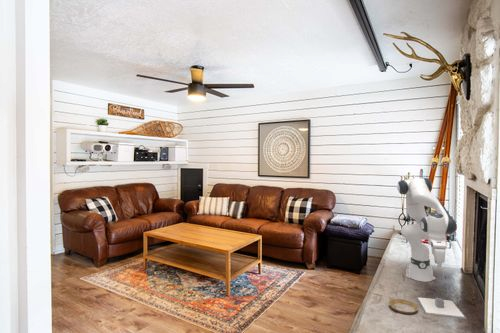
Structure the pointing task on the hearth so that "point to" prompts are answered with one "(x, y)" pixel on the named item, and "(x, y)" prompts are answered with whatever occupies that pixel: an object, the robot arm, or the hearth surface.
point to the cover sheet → (441, 311)
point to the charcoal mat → (440, 315)
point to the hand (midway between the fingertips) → (438, 265)
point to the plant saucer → (402, 303)
